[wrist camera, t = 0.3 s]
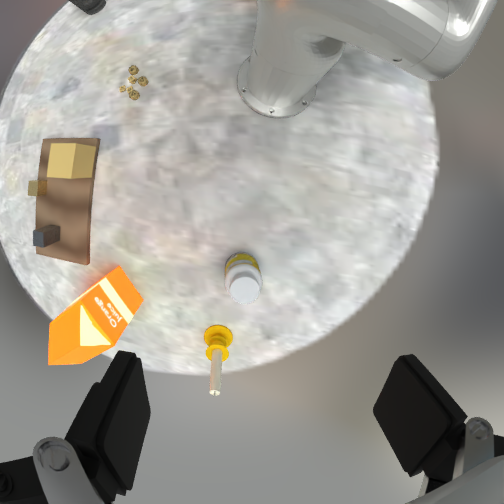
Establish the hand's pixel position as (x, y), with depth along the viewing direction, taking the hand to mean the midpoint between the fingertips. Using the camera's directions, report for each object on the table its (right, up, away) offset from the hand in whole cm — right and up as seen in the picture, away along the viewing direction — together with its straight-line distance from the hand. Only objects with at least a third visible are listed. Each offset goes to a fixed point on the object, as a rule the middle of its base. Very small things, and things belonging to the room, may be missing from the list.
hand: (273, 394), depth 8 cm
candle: (-7, -11, +40) cm, 42 cm away
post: (-36, +8, +31) cm, 49 cm away
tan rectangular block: (-29, +20, +28) cm, 45 cm away
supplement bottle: (-2, +2, +37) cm, 37 cm away
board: (-34, +14, +31) cm, 49 cm away
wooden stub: (-39, +17, +29) cm, 51 cm away
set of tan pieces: (-20, +33, +28) cm, 47 cm away
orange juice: (-26, -3, +36) cm, 45 cm away
